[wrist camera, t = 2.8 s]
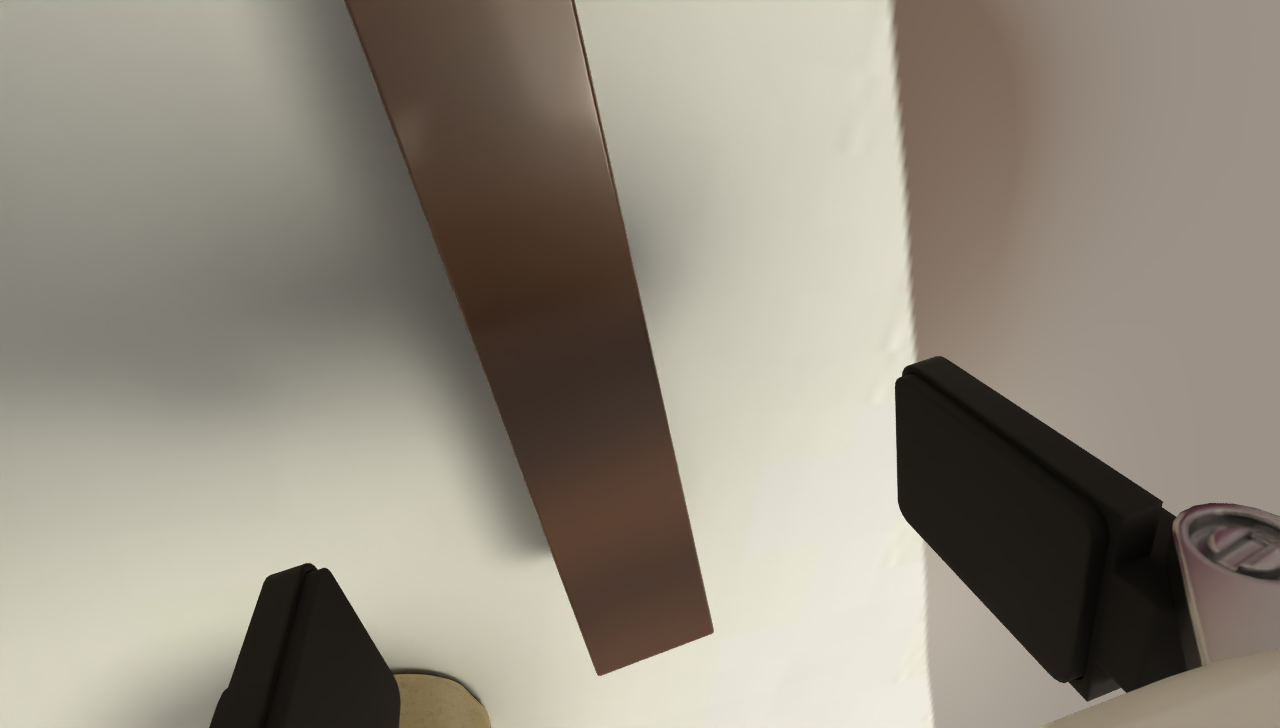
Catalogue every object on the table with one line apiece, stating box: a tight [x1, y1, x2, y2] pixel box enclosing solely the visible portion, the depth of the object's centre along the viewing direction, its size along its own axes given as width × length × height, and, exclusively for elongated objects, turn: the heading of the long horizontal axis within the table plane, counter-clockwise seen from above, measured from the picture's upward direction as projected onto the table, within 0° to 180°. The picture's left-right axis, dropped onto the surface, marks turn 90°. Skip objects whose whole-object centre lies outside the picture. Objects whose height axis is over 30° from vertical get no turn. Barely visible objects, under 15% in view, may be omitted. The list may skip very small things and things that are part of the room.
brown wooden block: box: [344, 0, 714, 676], centre depth 15 cm, size 16×3×5 cm, turn 12°
